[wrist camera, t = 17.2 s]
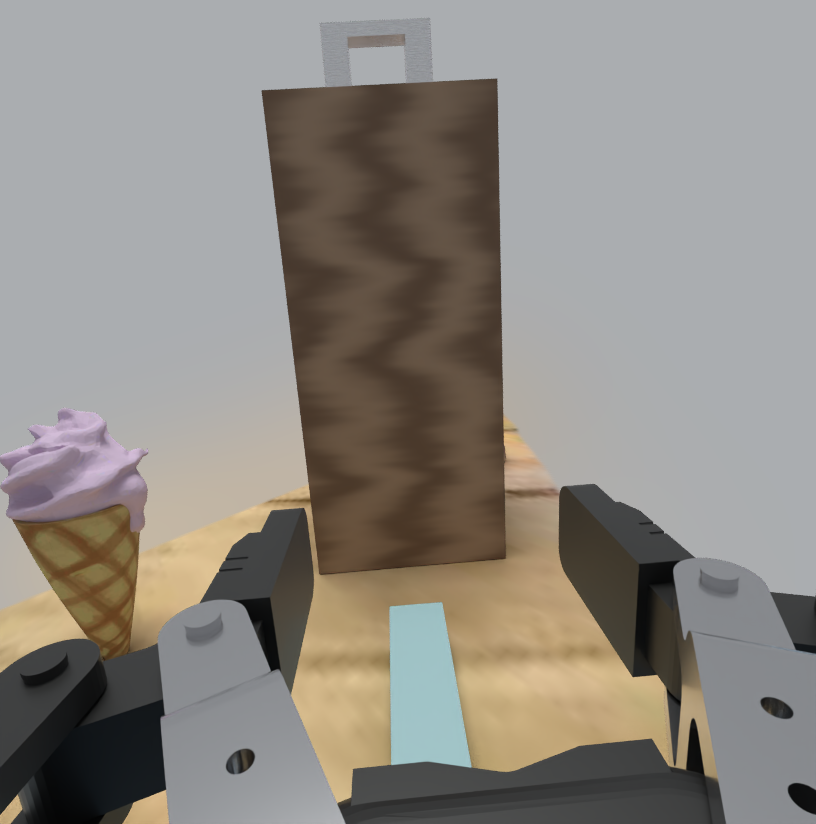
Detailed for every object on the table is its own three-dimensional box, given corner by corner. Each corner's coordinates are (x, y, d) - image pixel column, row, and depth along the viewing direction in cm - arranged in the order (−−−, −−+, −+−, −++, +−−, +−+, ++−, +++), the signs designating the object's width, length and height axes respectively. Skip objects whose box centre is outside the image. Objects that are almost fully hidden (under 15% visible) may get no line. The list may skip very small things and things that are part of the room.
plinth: (319, 574, 37) (261, 90, 29) (334, 506, 49) (295, 147, 41) (505, 558, 37) (497, 78, 30) (476, 494, 49) (464, 138, 41)
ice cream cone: (183, 607, 34) (140, 393, 30) (182, 667, 28) (129, 413, 25) (69, 638, 32) (8, 409, 28) (43, 710, 26) (-37, 436, 22)
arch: (327, 101, 31) (319, 22, 30) (329, 109, 33) (322, 35, 32) (433, 95, 32) (429, 17, 31) (431, 104, 33) (427, 30, 32)
